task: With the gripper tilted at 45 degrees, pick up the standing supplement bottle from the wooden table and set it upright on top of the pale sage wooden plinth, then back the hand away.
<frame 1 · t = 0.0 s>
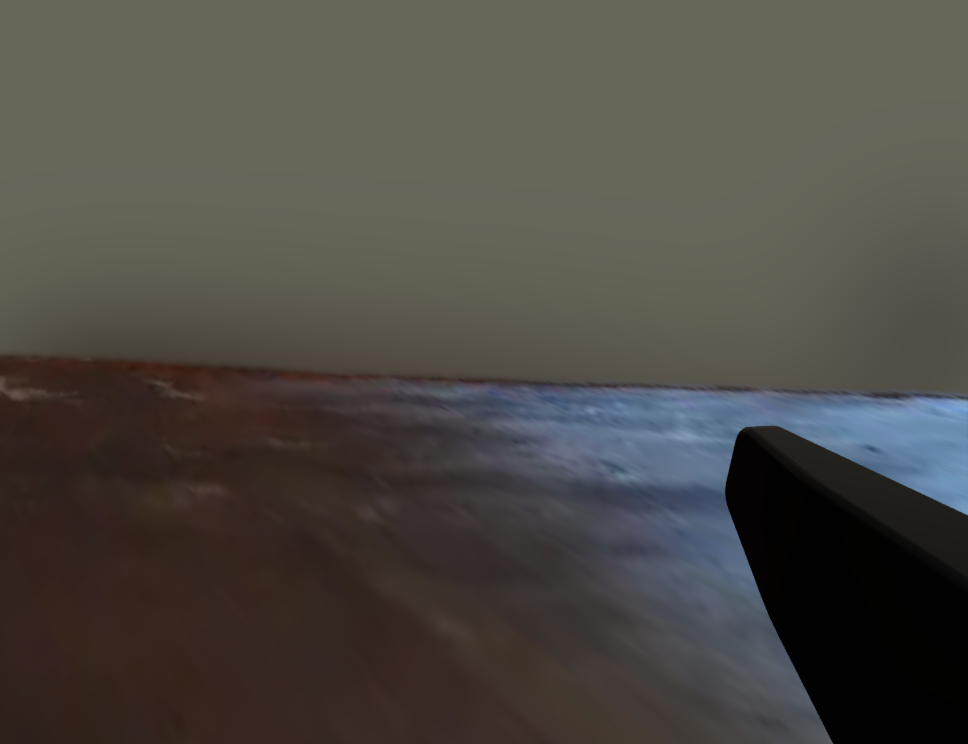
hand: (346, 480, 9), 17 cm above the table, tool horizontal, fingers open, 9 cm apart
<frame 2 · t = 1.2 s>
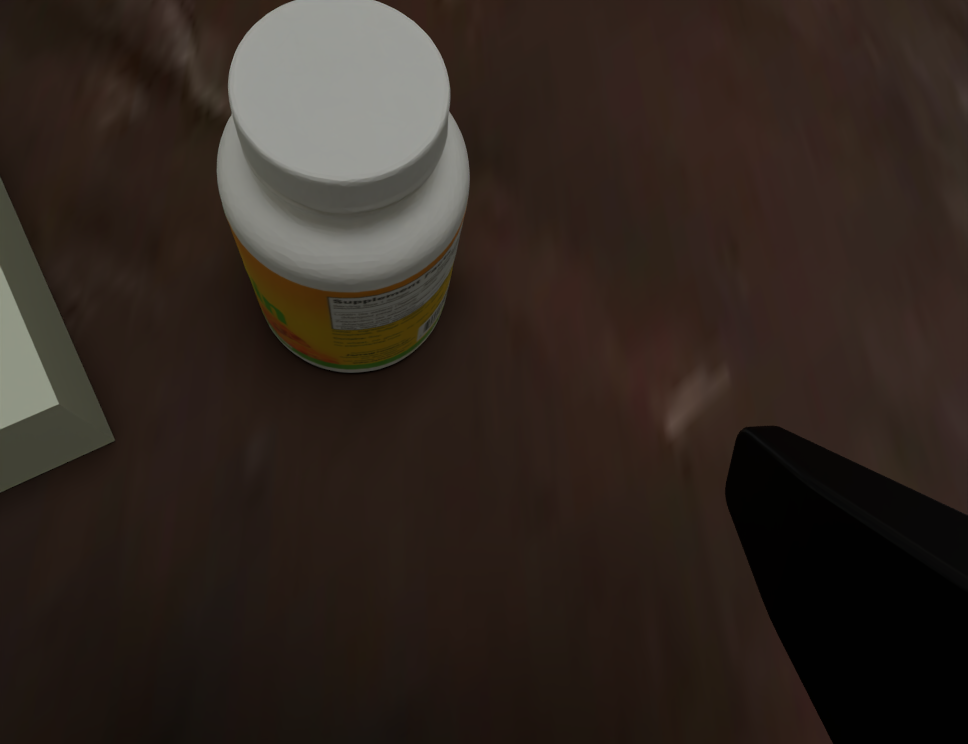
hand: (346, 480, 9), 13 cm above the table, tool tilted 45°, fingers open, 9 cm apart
supplement bottle: (354, 292, 24), on the table
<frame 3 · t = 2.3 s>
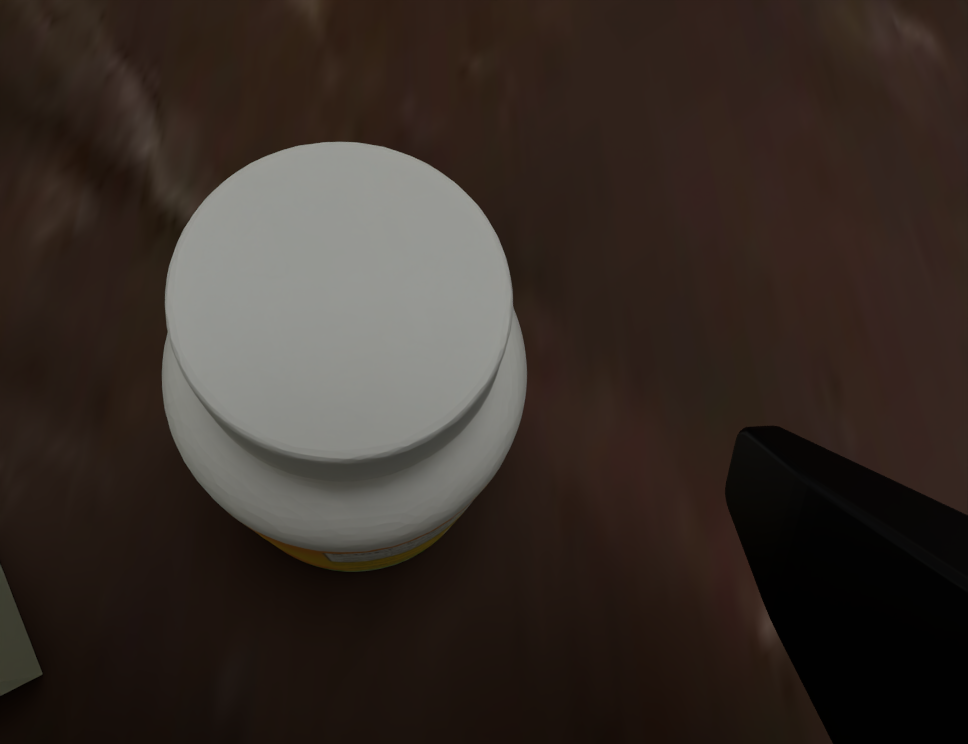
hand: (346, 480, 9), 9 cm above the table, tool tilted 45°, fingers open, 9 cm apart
supplement bottle: (358, 455, 18), on the table
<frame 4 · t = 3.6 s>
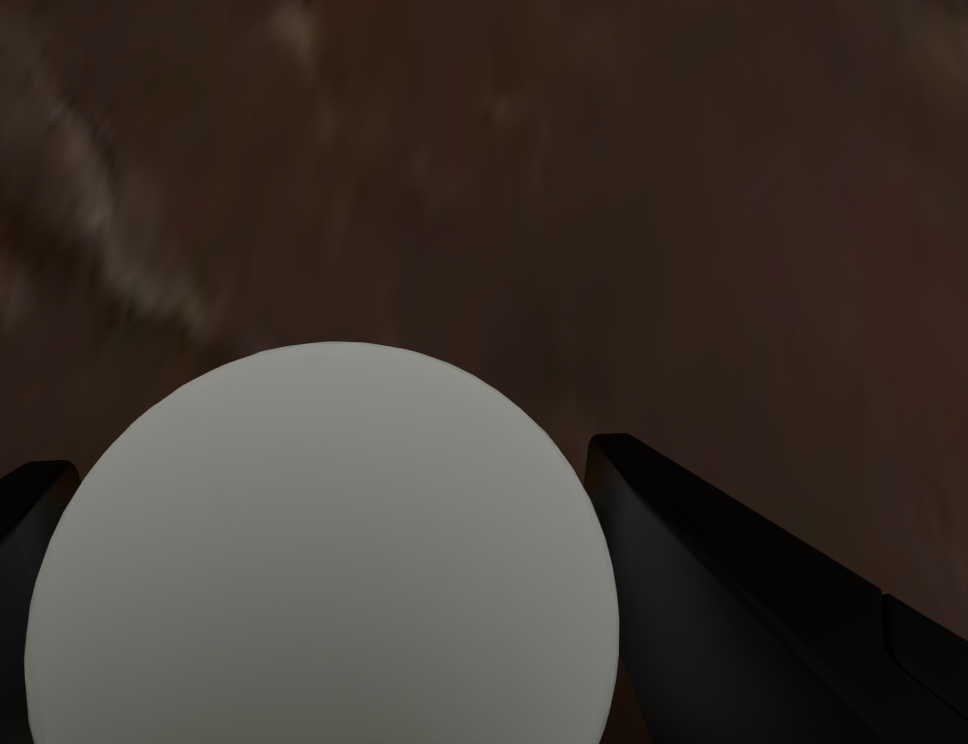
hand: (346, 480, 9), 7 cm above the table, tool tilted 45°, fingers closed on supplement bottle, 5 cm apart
supplement bottle: (360, 611, 15), on the table, touching gripper
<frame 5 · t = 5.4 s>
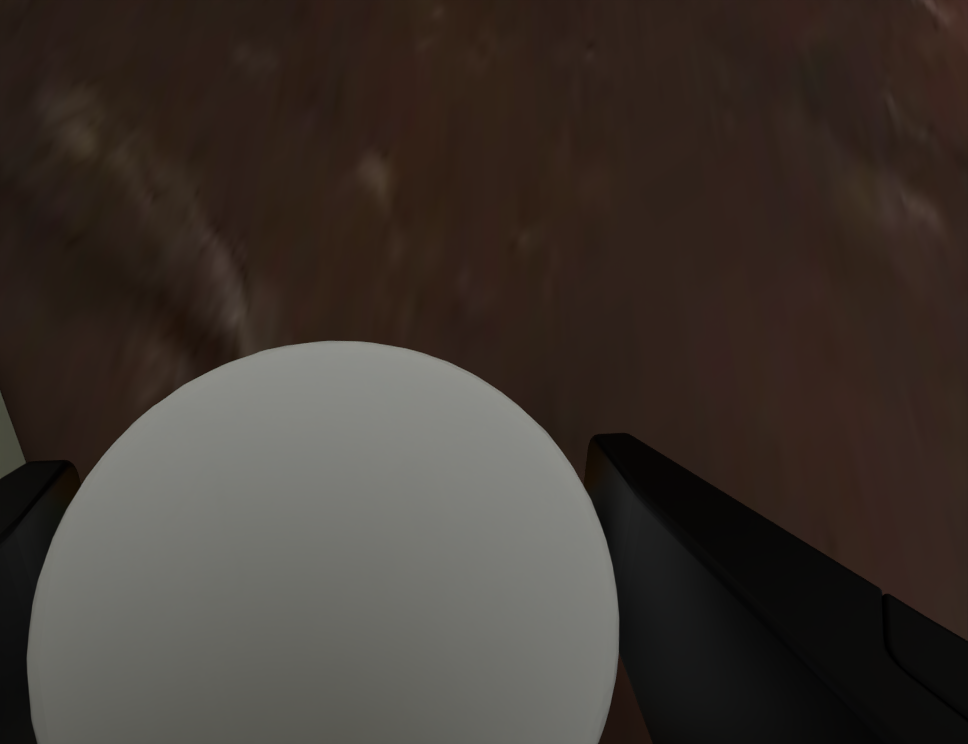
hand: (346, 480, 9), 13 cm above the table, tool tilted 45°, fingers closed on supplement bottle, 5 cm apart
supplement bottle: (362, 609, 15), point 6 cm above the table, touching gripper
when the fingers open (12 cm above the table, at t = 7.1 s): supplement bottle stays where it is, resting on plinth.
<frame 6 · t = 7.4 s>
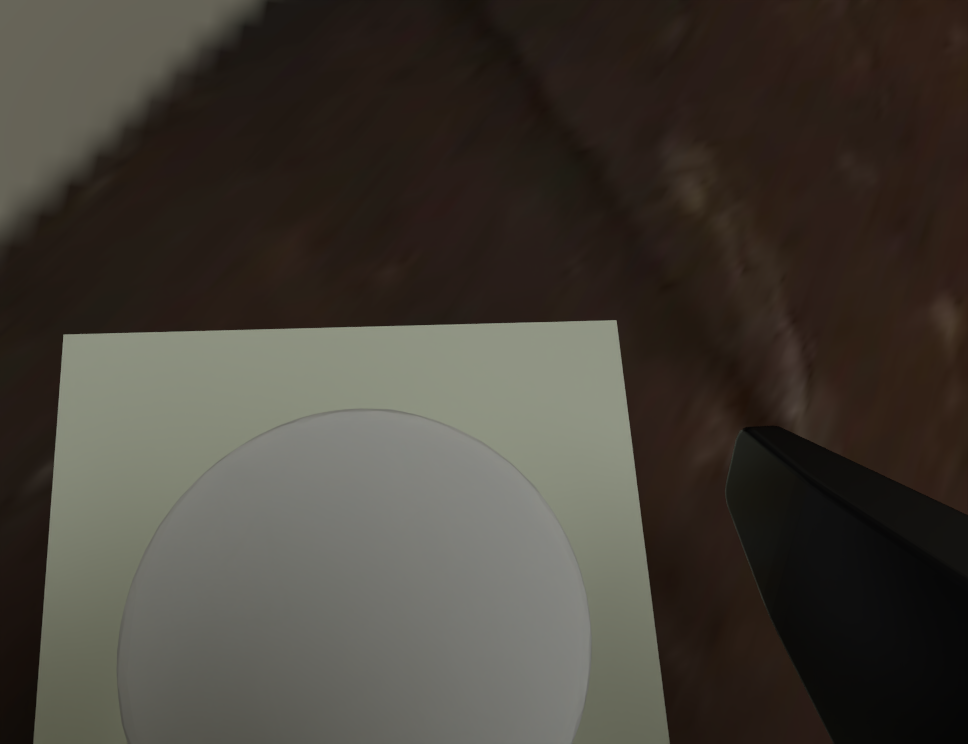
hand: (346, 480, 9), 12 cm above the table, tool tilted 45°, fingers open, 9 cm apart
plinth: (364, 609, 20), on the table
supplement bottle: (362, 619, 16), point 4 cm above the table, touching plinth
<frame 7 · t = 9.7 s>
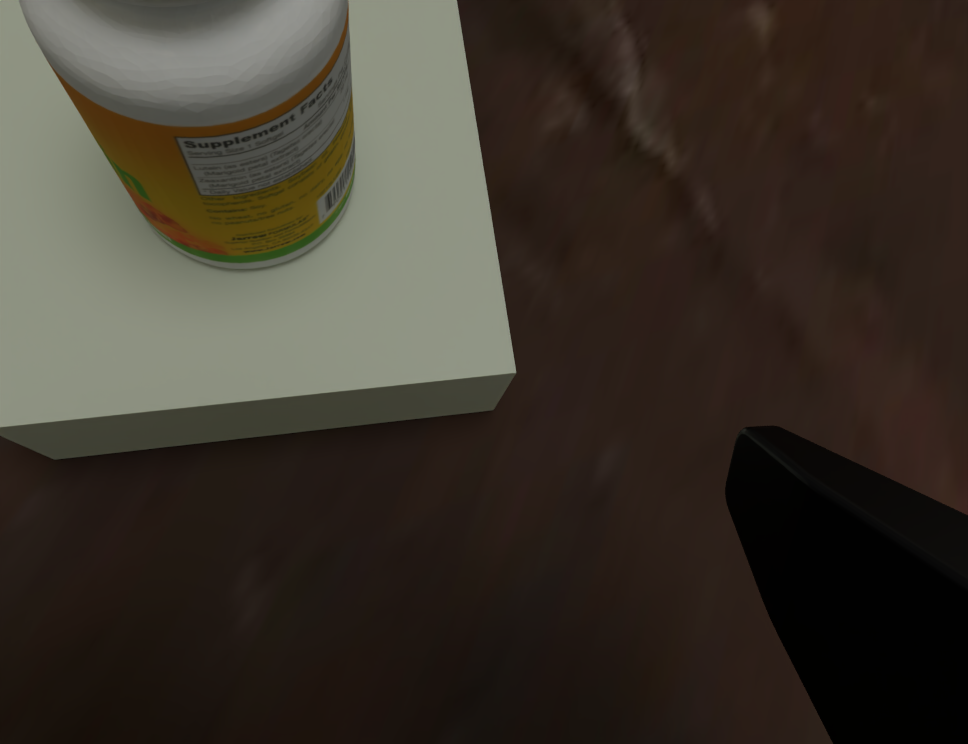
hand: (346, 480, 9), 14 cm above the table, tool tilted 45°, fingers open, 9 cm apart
plinth: (267, 238, 24), on the table
supplement bottle: (248, 179, 20), point 4 cm above the table, touching plinth
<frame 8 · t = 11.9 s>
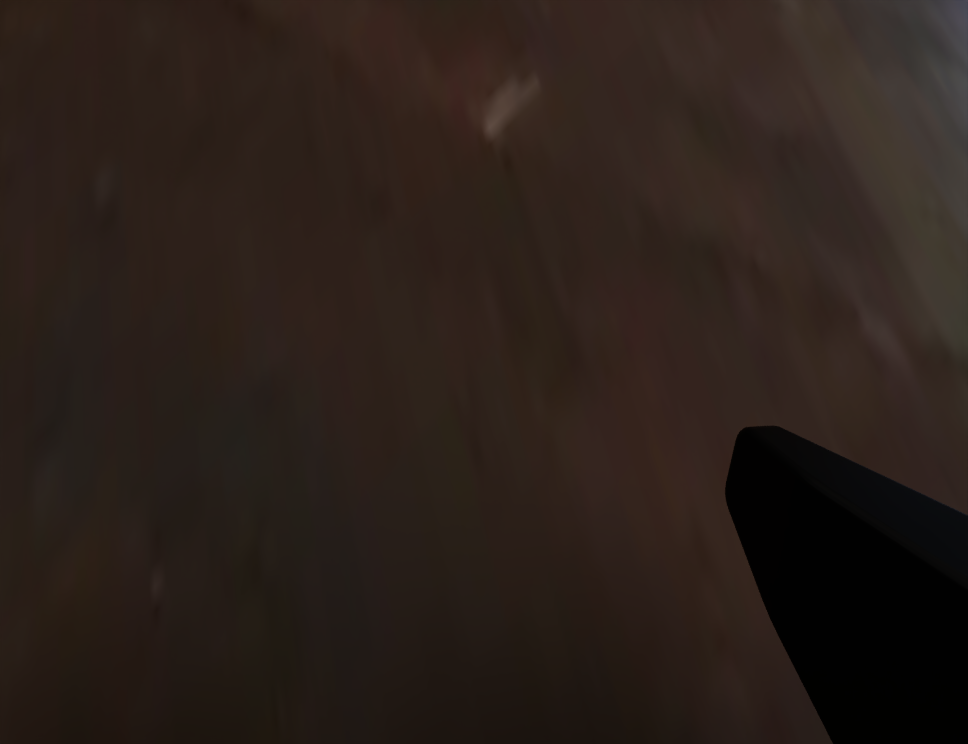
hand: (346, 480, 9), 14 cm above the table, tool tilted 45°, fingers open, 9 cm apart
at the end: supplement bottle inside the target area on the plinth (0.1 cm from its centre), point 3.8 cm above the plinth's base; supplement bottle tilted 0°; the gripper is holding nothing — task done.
